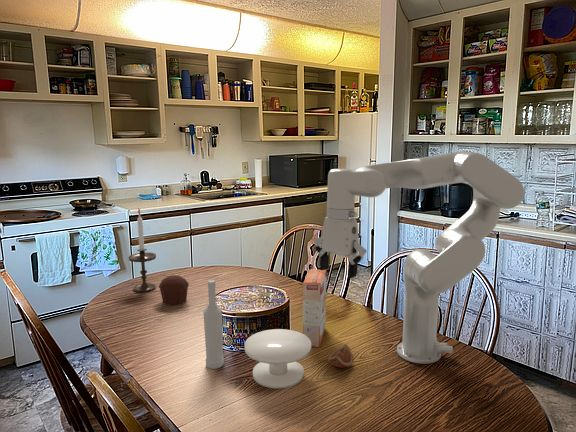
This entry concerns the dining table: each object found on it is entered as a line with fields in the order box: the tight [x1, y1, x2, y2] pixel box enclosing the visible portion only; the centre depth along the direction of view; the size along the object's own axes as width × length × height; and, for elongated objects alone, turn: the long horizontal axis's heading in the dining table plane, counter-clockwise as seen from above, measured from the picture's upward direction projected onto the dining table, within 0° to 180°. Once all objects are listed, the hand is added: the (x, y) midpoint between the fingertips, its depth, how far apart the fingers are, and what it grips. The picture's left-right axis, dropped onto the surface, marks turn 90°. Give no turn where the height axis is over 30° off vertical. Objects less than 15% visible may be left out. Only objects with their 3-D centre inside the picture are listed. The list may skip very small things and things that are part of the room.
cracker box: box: [302, 268, 327, 348], centre depth 142 cm, size 14×6×21 cm, turn 168°
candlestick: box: [128, 207, 157, 294], centre depth 186 cm, size 11×11×35 cm
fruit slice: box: [327, 344, 354, 369], centre depth 126 cm, size 8×7×5 cm
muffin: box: [158, 275, 190, 306], centre depth 175 cm, size 12×11×10 cm
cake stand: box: [244, 328, 312, 390], centre depth 122 cm, size 18×18×9 cm
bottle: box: [202, 279, 225, 370], centre depth 126 cm, size 5×5×25 cm
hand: (337, 273), depth 127 cm, fingers open, 9 cm apart
